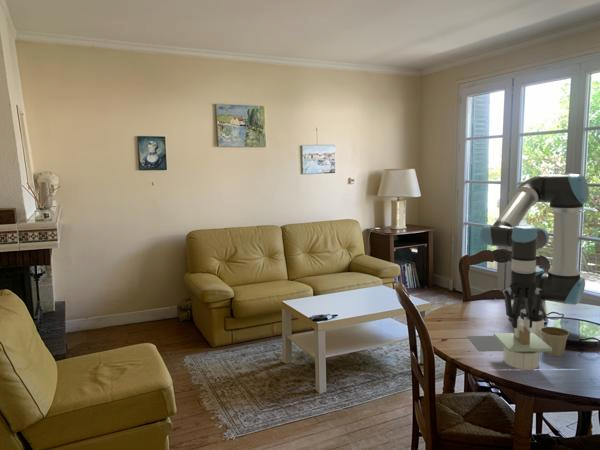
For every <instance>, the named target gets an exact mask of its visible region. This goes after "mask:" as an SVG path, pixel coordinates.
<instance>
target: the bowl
mask: <svg viewBox="0 0 600 450" xmlns="http://www.w3.org/2000/svg"><path fill="white" fill-rule="evenodd" d="M502 355H503V362H504V363H505V364H506V365H508V366H509V367H512V368H515V369H517V370H519V371H528V372H529V371H535V370H536V369H538V367H539V365H540V351H530V352H509V351H508V350H507V349H506V348H505V347H504V351H503V354H502Z"/></svg>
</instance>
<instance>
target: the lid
mask: <svg viewBox="0 0 600 450" xmlns="http://www.w3.org/2000/svg"><path fill="white" fill-rule="evenodd" d="M493 336H494V337H495V338H496V339H497V340H498V341H499V342H500V343H501V344H502V345H503V346H504V347H505V348H506V349H507V350H508V351H509V352H530V351H539V352H544V351H552V348H551V347H550V346H549V345H547V344H546V343H545V342H544V341H543V340H541V339H540V338H539V337H538V336H537V335H535V334H534V333H530V331H528V330H527V329H526V328H525V327H524V326H522V325H520V338H517V337H516V336H515V335H514V332H496V333H495V332H494V333H493Z"/></svg>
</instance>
